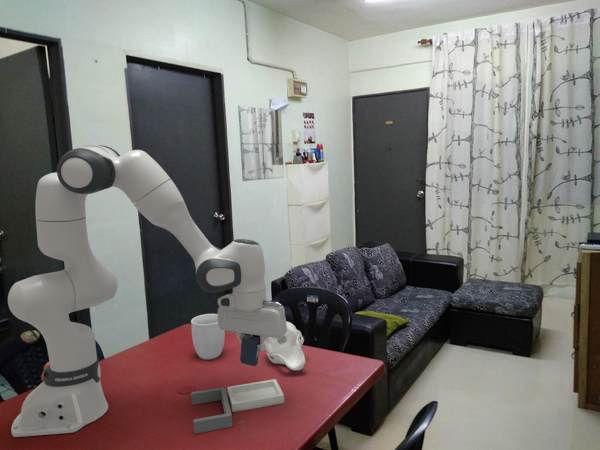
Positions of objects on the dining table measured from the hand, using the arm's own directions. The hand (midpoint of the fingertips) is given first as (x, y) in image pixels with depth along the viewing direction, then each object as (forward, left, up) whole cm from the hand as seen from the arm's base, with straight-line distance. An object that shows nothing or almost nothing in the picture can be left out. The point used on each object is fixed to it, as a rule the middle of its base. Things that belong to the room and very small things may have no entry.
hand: (253, 348), depth 124 cm
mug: (-10, +35, -15) cm, 40 cm away
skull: (+13, +19, -15) cm, 28 cm away
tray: (0, 0, -15) cm, 15 cm away
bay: (-13, -4, -15) cm, 20 cm away
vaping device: (-1, +1, -4) cm, 5 cm away
